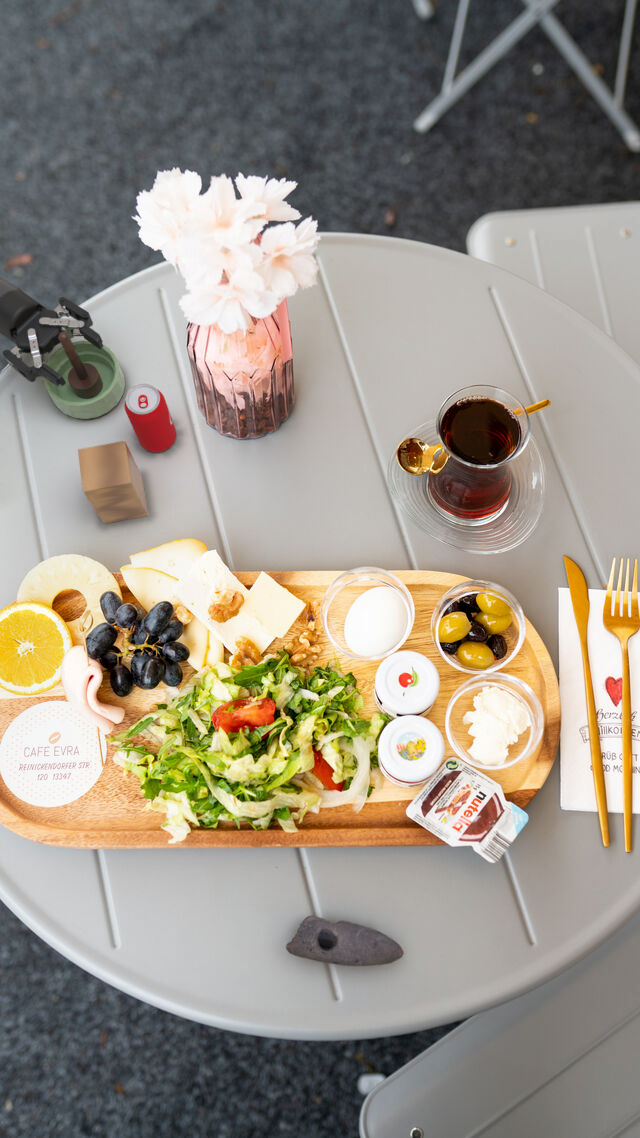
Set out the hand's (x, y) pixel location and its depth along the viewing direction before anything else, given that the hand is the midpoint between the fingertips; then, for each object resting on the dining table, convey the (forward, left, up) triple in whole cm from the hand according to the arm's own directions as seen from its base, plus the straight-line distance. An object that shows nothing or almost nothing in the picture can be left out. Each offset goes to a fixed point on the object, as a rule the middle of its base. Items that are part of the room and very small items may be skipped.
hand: (82, 363), depth 128 cm
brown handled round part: (-1, +2, -9) cm, 9 cm away
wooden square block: (+2, -20, -9) cm, 22 cm away
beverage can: (+9, -10, -10) cm, 16 cm away
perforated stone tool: (+22, -90, -10) cm, 93 cm away
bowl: (-1, +1, -9) cm, 10 cm away
